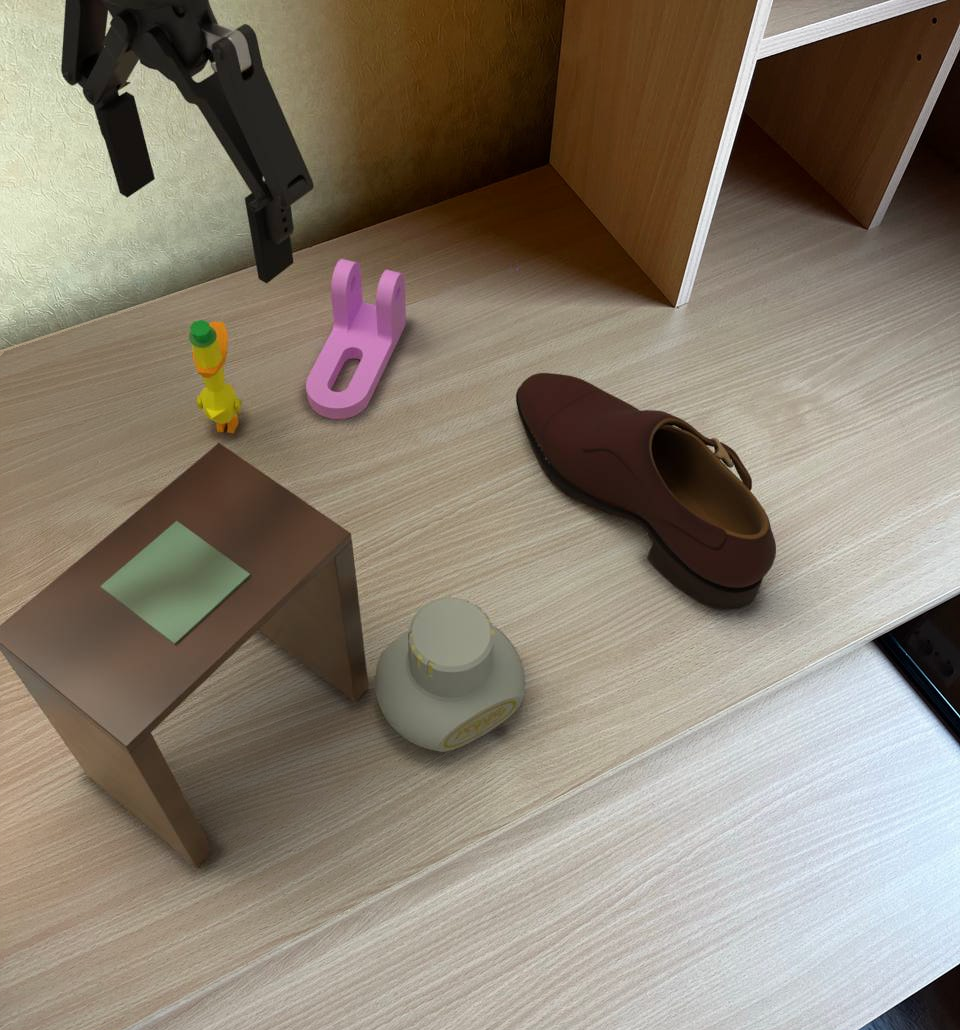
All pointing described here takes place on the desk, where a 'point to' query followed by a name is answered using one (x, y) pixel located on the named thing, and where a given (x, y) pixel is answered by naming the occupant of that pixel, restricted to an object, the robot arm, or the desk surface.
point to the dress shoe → (654, 484)
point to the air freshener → (449, 676)
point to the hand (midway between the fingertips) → (205, 228)
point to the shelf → (183, 624)
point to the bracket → (357, 340)
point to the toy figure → (214, 374)
